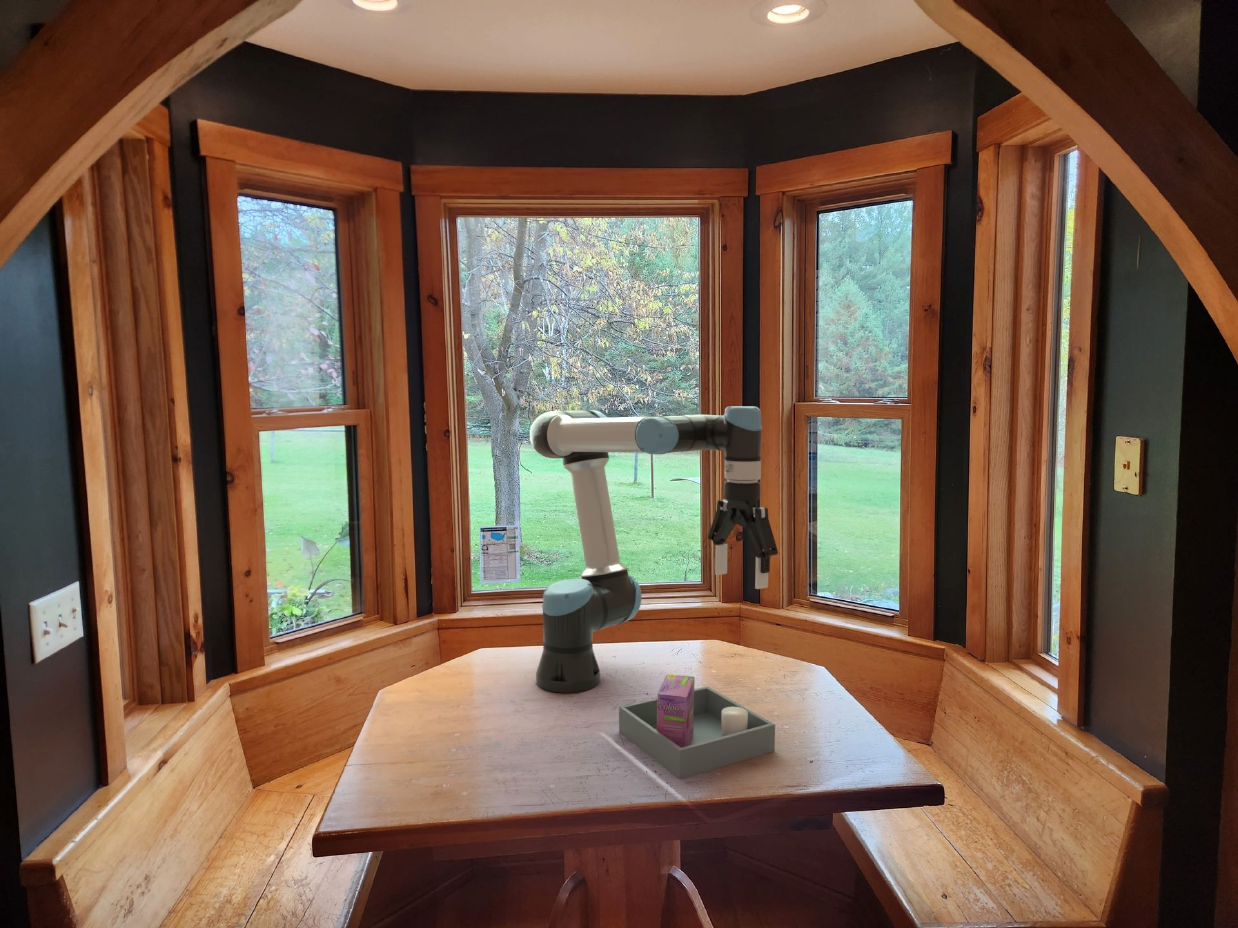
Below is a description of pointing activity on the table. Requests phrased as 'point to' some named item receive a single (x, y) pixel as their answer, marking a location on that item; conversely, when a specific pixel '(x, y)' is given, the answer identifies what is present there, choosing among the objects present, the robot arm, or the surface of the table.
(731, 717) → the cream bullet shape
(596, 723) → the table surface
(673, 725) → the box
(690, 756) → the crate
